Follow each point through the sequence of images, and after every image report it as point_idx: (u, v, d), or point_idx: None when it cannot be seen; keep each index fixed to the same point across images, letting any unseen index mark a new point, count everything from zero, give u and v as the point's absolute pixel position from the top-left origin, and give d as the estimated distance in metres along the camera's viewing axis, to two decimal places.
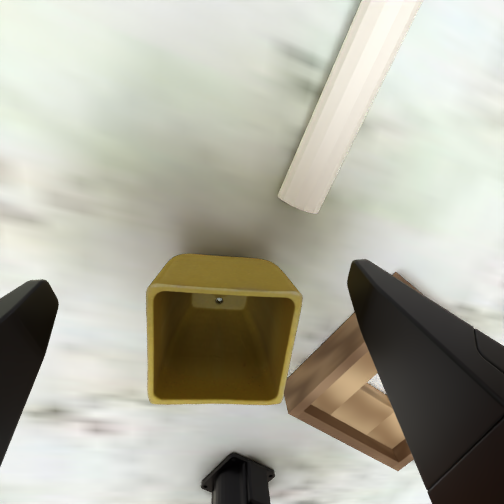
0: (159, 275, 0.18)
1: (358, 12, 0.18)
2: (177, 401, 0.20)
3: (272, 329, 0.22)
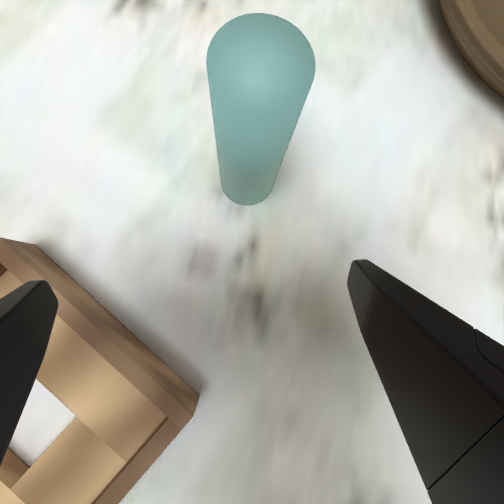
0: None
1: None
2: None
3: None
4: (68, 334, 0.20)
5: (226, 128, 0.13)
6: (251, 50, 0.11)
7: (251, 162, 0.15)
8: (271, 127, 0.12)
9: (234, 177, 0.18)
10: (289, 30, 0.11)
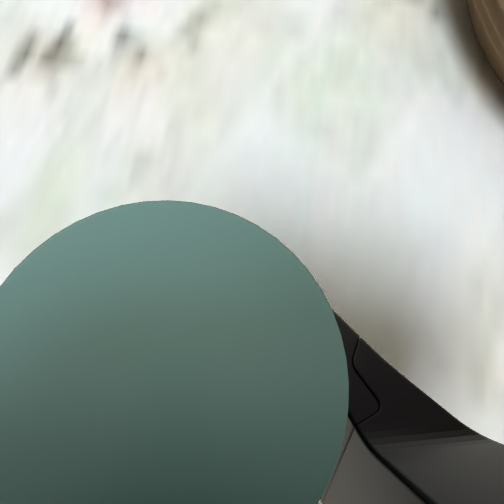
0: None
1: None
2: None
3: None
4: None
5: None
6: (124, 341, 0.03)
7: None
8: None
9: None
10: (252, 253, 0.03)
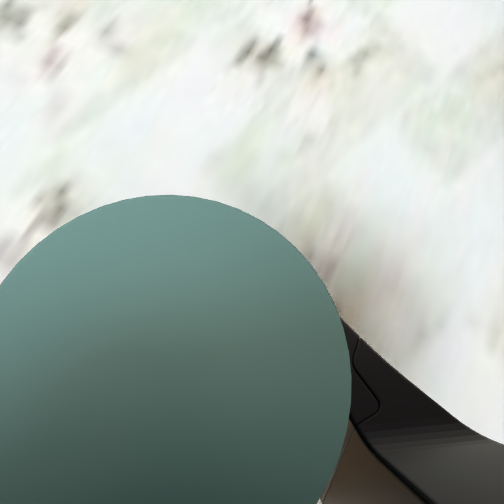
0: None
1: None
2: None
3: None
4: None
5: None
6: (126, 335, 0.03)
7: None
8: None
9: None
10: (255, 247, 0.03)
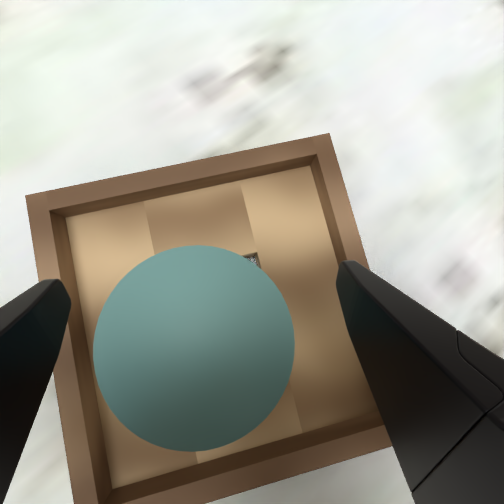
0: None
1: None
2: None
3: None
4: (319, 265, 0.17)
5: None
6: (176, 320, 0.06)
7: None
8: None
9: None
10: (243, 274, 0.06)
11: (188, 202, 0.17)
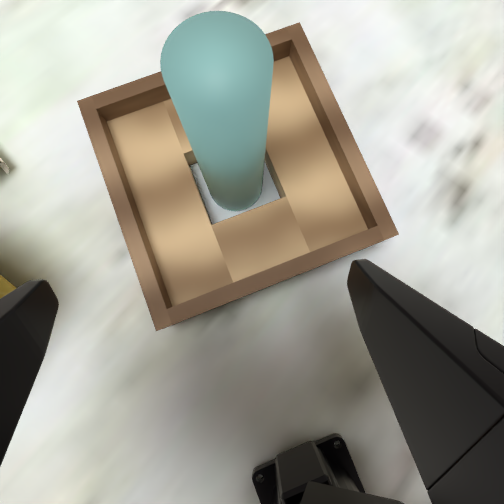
0: None
1: None
2: None
3: None
4: (307, 130, 0.22)
5: (198, 135, 0.13)
6: (204, 51, 0.11)
7: (233, 165, 0.15)
8: (242, 123, 0.12)
9: (220, 184, 0.18)
10: (238, 22, 0.11)
11: None
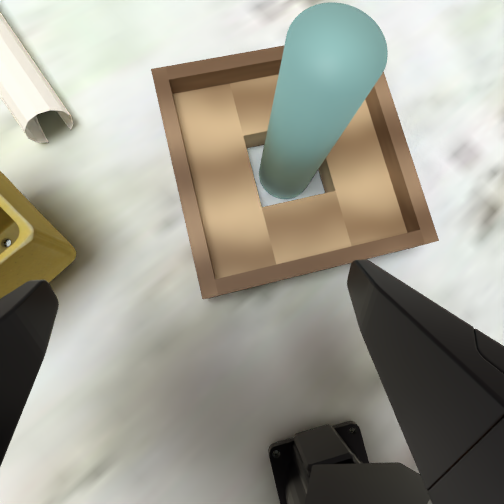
0: None
1: None
2: None
3: None
4: (361, 132, 0.23)
5: (296, 114, 0.13)
6: (326, 37, 0.12)
7: (311, 150, 0.16)
8: (345, 109, 0.13)
9: (285, 168, 0.19)
10: (359, 16, 0.12)
11: (263, 85, 0.23)
